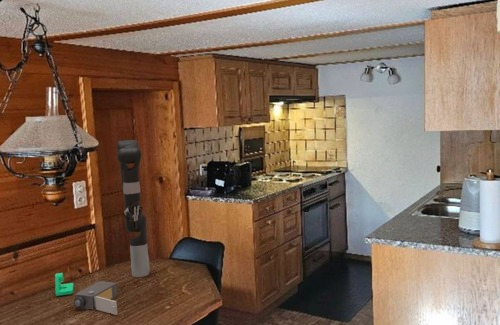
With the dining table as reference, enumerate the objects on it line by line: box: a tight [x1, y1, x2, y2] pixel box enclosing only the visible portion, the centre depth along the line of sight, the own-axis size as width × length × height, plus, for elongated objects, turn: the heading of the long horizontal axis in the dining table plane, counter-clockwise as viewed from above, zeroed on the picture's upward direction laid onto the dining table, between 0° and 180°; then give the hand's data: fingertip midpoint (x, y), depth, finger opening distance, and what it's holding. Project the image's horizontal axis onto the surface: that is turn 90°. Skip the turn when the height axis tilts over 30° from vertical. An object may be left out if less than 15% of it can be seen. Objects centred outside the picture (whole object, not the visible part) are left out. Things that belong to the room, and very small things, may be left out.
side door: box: [94, 296, 118, 316], centre depth 220 cm, size 14×2×6 cm, turn 57°
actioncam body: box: [73, 280, 119, 311], centre depth 233 cm, size 21×10×7 cm, turn 159°
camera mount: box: [54, 272, 75, 297], centre depth 248 cm, size 12×8×10 cm, turn 17°
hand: (134, 228), depth 228 cm, fingers closed
